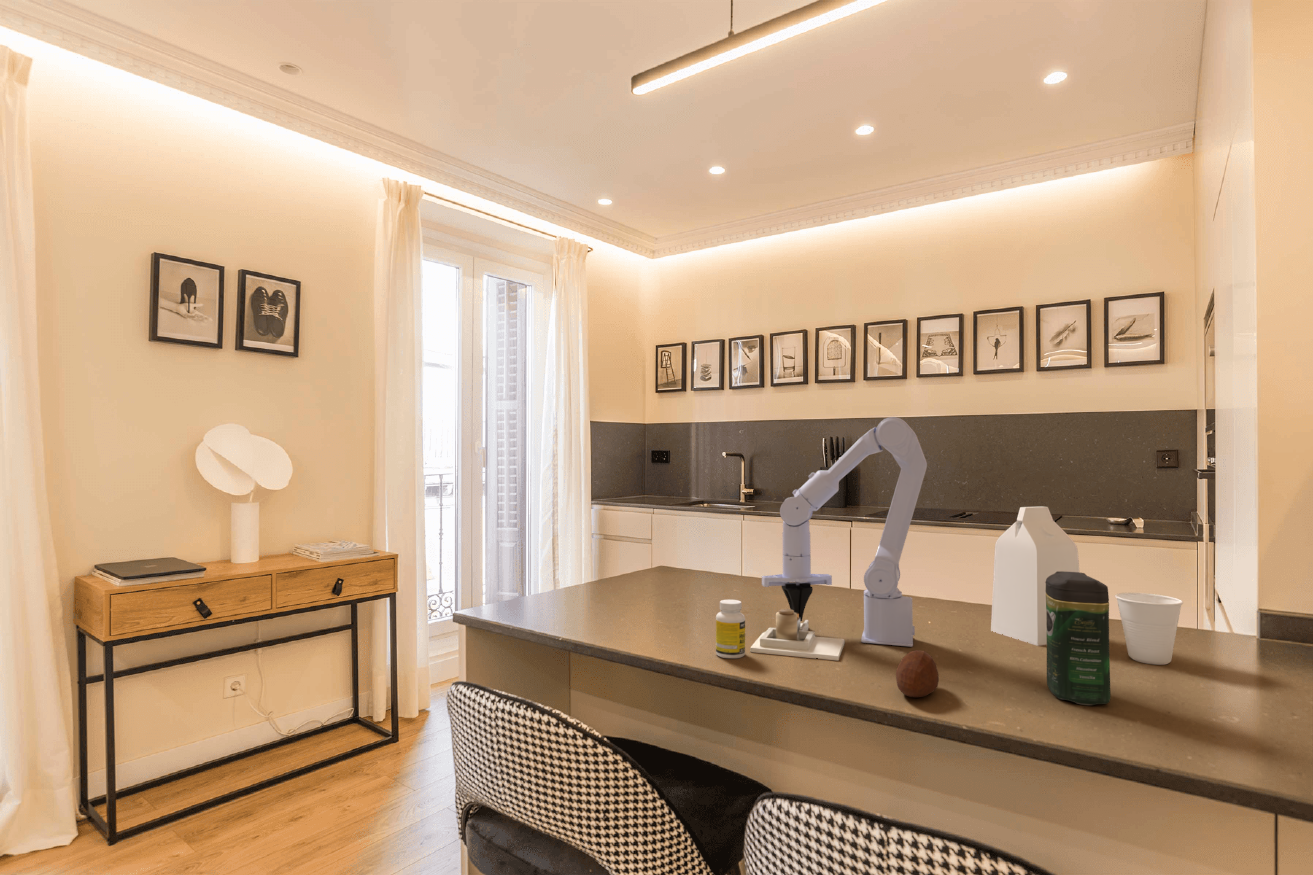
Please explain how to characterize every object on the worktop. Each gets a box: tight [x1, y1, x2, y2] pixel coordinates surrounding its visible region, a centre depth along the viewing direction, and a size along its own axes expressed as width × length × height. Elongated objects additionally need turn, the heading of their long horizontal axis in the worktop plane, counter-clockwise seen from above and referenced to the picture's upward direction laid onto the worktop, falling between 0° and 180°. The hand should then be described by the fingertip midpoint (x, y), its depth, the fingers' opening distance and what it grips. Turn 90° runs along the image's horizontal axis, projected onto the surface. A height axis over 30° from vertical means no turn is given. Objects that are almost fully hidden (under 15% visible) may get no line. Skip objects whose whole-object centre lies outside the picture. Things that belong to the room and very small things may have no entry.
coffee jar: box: [1045, 571, 1111, 706], centre depth 104 cm, size 10×8×19 cm
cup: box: [1114, 592, 1184, 666], centre depth 122 cm, size 10×10×11 cm
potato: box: [895, 649, 940, 698], centre depth 105 cm, size 6×12×6 cm, turn 149°
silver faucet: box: [795, 612, 801, 634], centre depth 137 cm, size 2×8×4 cm, turn 159°
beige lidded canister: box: [775, 608, 797, 641], centre depth 131 cm, size 4×4×7 cm
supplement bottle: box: [715, 599, 746, 659], centre depth 126 cm, size 5×5×10 cm
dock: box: [749, 619, 845, 662], centre depth 135 cm, size 16×22×2 cm
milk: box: [990, 506, 1080, 647], centre depth 139 cm, size 12×12×26 cm
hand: (797, 620), depth 142 cm, fingers closed
